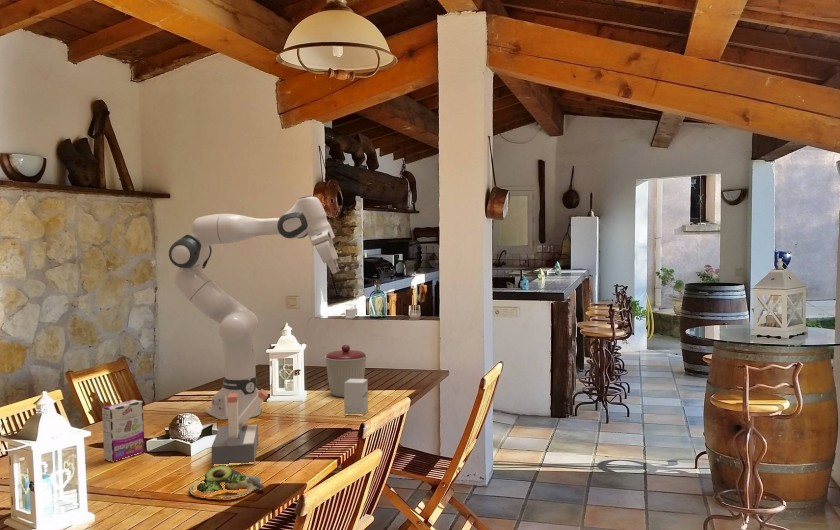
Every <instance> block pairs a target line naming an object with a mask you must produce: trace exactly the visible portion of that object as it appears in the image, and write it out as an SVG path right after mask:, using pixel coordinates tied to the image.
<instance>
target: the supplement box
mask: <svg viewBox="0 0 840 530" xmlns="http://www.w3.org/2000/svg"><path fill="white" fill-rule="evenodd" d="M368 382H369V380H368V378H367V379H366V378H364V379H349V380H347V381H346V382H344V397H343V399H344V401H343V402H344V404H343V405H344V410H343V411H344V413H343V415H344V414H364V413H365V412H366V411H367V410H368V408H369V406H368V405H369V403H368V402H369V397H368V396H369V395H368V394H369V391H368V389H369V386H368V385H369V384H368ZM368 411H369V410H368ZM368 411H367V412H368ZM367 412H366V413H367ZM366 413H365V414H366ZM365 414H364V415H365Z"/></svg>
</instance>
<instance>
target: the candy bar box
mask: <svg viewBox="0 0 840 530" xmlns="http://www.w3.org/2000/svg"><path fill="white" fill-rule="evenodd" d="M101 417H102V419H101V420H102V437H103V438H102V441H103V460H104V459H106V460H110V461H116V460H119V459H122V458H125V457H128V456H131V455H134V454H137V453H140V452H143V451H145V452H146V449H145V448H146V446H145V429H144V427H145V426H144V424H145V423H144V402H143V400H139V399H131V400H127V401H123V402H119V403H115V404H111V405H107V406H106V405H105V406H103V407H101Z"/></svg>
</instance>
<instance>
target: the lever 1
mask: <svg viewBox="0 0 840 530" xmlns="http://www.w3.org/2000/svg"><path fill="white" fill-rule="evenodd" d="M227 420H228V426H229V437H233V436H238V433H239V426H238V393H229V395H228V419H227Z"/></svg>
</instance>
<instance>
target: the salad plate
mask: <svg viewBox="0 0 840 530" xmlns="http://www.w3.org/2000/svg"><path fill="white" fill-rule="evenodd" d="M202 481H204V482H205V483H200V484H199V485H197V490H199V491H201V492H203V493H211V492H215V491H218V490H223V488H222V486H221V485H220V483H221V482H225V484H224V485H225V489H227V490H239V489H247V491H245V492H243V493H241V494H237V495H236V494H234V495H226V496H225V495H224V496H222V497H224V498H225V497H226V498H231V497H239V496H242V495H245V494H247V493H248V492H250V491H251V490H255V489H257V490H262V489H265V488H266V486H265V485H264V484H262V483H263V482H262V479H261V477H259V476H257V475H250V474H249V475H247V474H244V473H241V472H240V471H237V470H235V469H233V468H232V466H226V465H219V466H216V467H211V468H210V469H208V470H207V471H206V472H205V474H204V479H203V480H201V481H198V482H196V483H194V484H191V486H190V487H189V488H188V491H189V490H190V491H191V492H192V493H195V492H193V487H194V486H195V485H196V484H198V483H199V482H202Z"/></svg>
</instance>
